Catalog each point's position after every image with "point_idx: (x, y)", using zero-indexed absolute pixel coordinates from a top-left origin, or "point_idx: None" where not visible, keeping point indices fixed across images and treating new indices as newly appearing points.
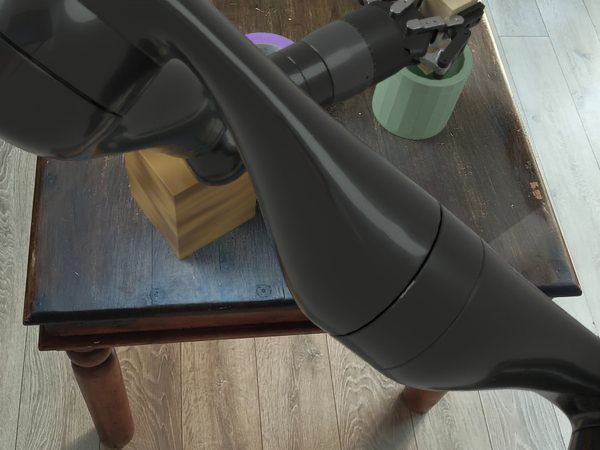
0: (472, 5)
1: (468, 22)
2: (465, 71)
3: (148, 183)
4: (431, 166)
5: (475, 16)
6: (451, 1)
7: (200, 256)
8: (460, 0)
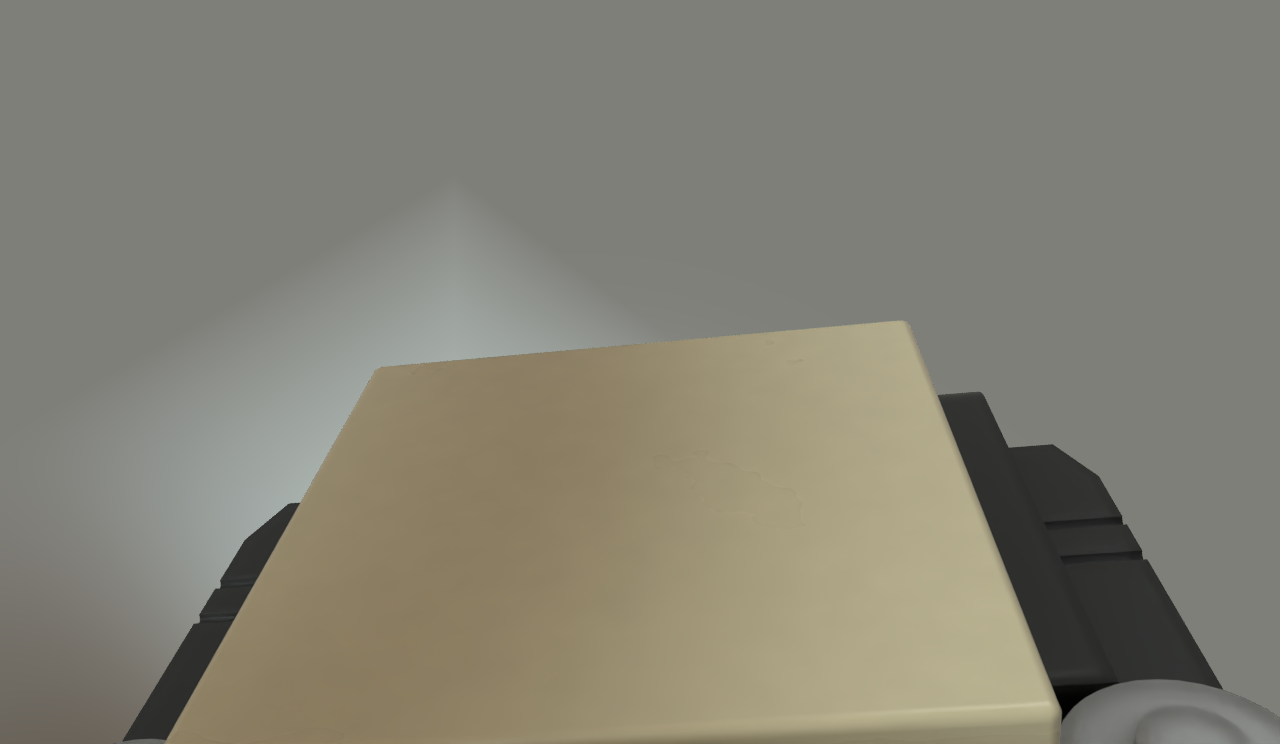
0: None
1: (1205, 679)
2: None
3: None
4: None
5: (1112, 546)
6: (801, 614)
7: None
8: (861, 496)
